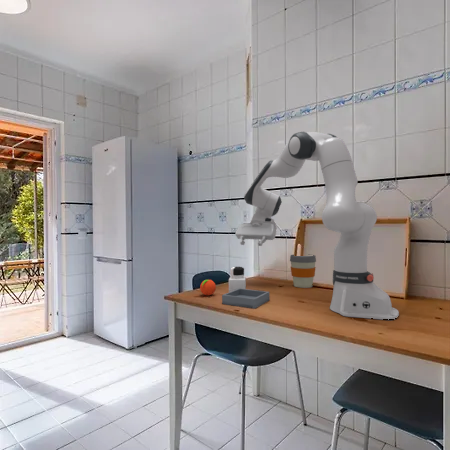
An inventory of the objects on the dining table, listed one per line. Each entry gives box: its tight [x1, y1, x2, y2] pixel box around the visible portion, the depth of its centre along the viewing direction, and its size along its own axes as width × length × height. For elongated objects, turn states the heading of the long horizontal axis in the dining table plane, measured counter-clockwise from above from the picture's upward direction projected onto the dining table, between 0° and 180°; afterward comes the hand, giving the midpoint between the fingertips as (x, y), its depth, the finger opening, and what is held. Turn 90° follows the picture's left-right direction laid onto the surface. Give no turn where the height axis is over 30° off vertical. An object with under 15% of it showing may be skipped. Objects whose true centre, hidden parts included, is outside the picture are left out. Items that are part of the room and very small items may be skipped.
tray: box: [221, 288, 270, 310], centre depth 130 cm, size 14×14×4 cm
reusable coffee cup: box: [289, 254, 317, 289], centre depth 161 cm, size 12×12×15 cm
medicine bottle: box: [228, 266, 247, 293], centre depth 145 cm, size 7×7×12 cm
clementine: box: [199, 279, 217, 297], centre depth 142 cm, size 8×7×7 cm
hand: (250, 244), depth 155 cm, fingers open, 8 cm apart
